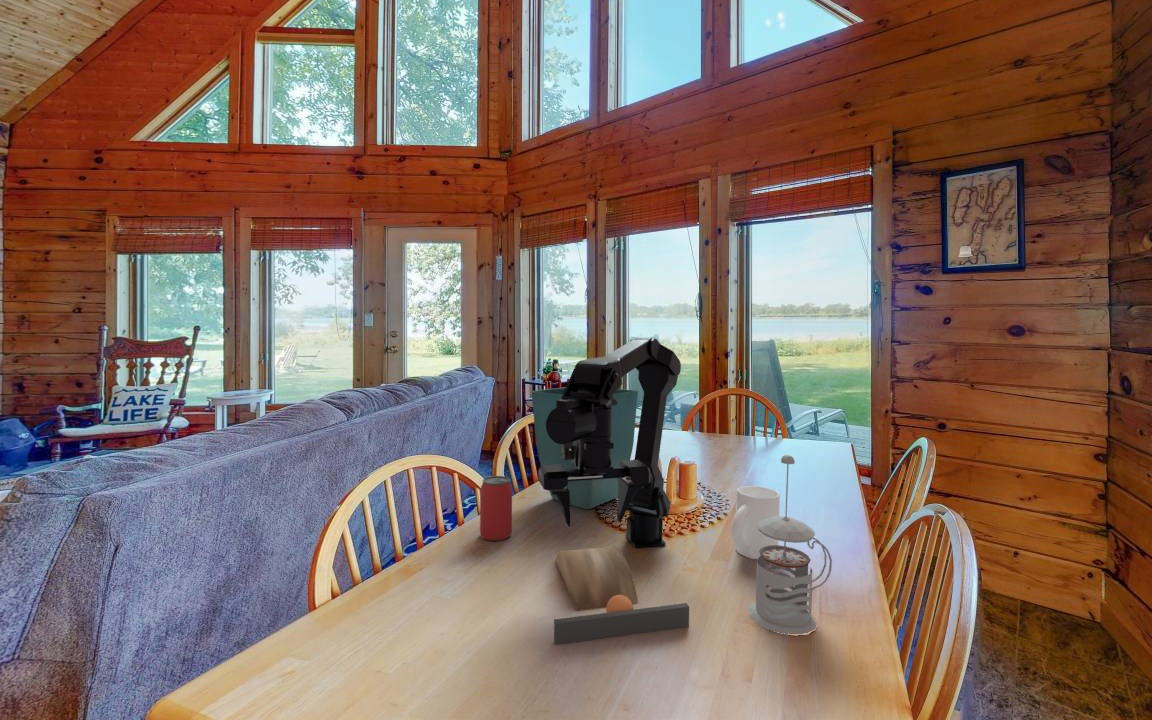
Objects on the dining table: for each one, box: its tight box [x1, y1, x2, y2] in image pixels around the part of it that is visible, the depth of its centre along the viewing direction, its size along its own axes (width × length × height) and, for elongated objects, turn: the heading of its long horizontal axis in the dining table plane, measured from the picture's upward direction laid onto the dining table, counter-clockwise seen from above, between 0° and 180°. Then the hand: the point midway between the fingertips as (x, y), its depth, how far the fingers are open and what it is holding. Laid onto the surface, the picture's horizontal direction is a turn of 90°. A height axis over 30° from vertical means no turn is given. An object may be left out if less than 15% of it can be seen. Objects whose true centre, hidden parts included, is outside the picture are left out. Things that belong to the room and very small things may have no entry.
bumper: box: [553, 602, 690, 645], centre depth 72 cm, size 20×1×3 cm, turn 104°
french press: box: [748, 454, 833, 634], centre depth 76 cm, size 10×12×25 cm
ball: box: [605, 595, 634, 613], centre depth 74 cm, size 4×4×4 cm
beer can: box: [479, 475, 513, 542], centre depth 105 cm, size 7×7×12 cm
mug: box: [731, 485, 781, 561], centre depth 98 cm, size 8×12×12 cm
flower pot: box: [531, 386, 639, 510], centre depth 129 cm, size 20×20×28 cm
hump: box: [554, 546, 639, 612], centre depth 87 cm, size 10×22×22 cm, turn 14°
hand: (593, 523), depth 87 cm, fingers open, 9 cm apart
